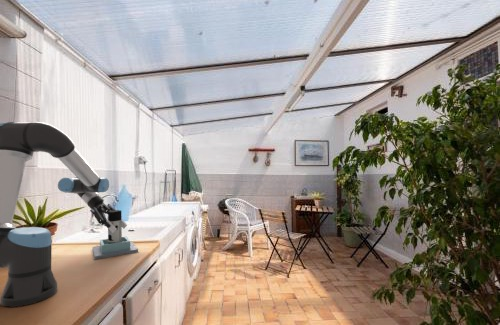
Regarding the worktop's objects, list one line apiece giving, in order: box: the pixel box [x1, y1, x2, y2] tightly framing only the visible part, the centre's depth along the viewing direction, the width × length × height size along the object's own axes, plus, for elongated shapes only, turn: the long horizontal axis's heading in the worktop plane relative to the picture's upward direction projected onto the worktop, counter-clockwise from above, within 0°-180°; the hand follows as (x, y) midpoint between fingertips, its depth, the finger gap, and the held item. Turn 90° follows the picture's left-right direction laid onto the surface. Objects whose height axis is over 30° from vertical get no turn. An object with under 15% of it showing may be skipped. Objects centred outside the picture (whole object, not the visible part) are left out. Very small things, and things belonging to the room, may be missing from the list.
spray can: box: [107, 209, 123, 244], centre depth 144 cm, size 7×7×20 cm
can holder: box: [92, 235, 139, 260], centre depth 143 cm, size 20×20×6 cm
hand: (120, 228), depth 143 cm, fingers open, 9 cm apart
